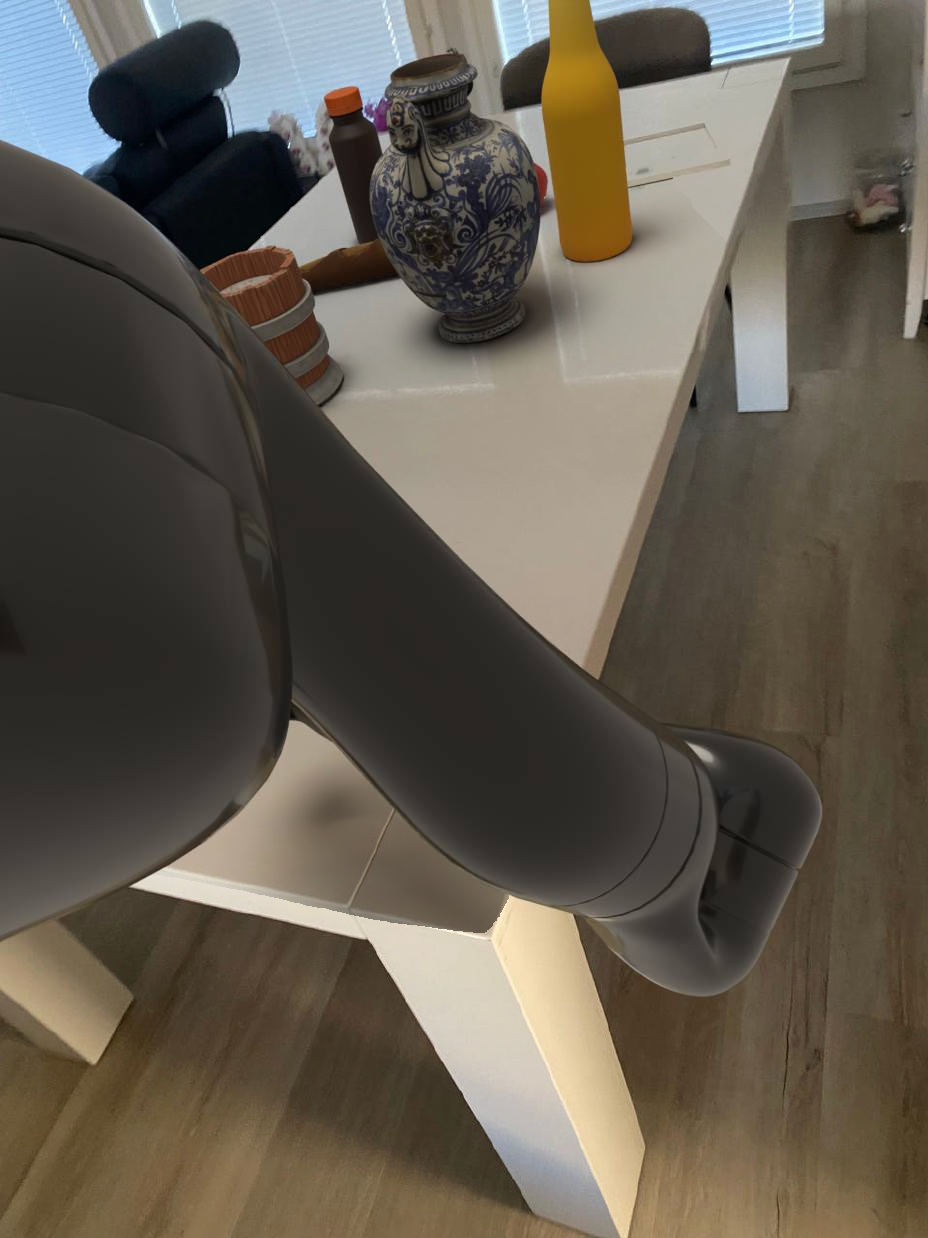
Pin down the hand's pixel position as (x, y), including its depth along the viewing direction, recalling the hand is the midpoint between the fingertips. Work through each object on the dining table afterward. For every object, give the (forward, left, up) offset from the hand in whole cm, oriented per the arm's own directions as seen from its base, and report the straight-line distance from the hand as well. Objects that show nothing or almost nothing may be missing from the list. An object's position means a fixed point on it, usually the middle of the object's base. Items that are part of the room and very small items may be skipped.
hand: (218, 600), depth 58 cm
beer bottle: (+85, -3, -16) cm, 87 cm away
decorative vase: (+66, +7, -16) cm, 68 cm away
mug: (+50, +29, -16) cm, 60 cm away
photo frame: (+115, -7, -16) cm, 116 cm away
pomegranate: (+99, +12, -16) cm, 101 cm away
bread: (+81, +26, -16) cm, 87 cm away
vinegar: (+94, +32, -16) cm, 101 cm away
